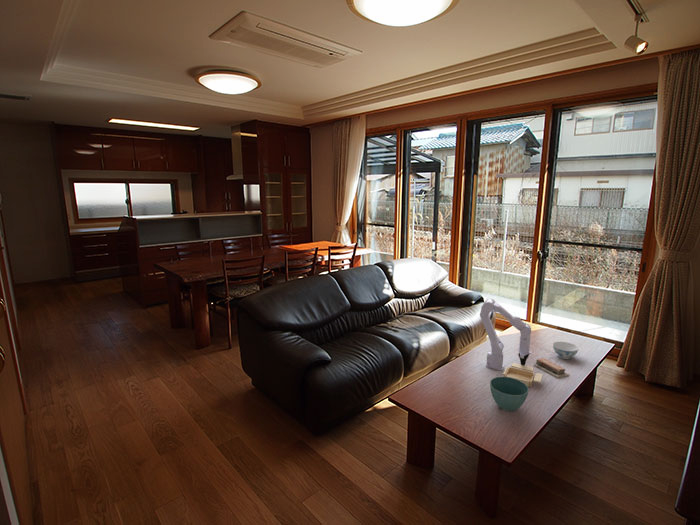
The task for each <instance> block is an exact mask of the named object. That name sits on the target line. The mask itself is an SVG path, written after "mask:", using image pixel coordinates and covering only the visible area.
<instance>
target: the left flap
mask: <svg viewBox="0 0 700 525" xmlns="http://www.w3.org/2000/svg"><path fill="white" fill-rule="evenodd" d="M510 367H512V368H516V369H520V370H524V371H529V372H533V373H534V367H532V366H528V365H525V366H524V365H521V363H520V364H519V363H515V362H512V363H511V366H510Z"/></svg>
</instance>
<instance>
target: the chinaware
mask: <svg viewBox="0 0 700 525" xmlns="http://www.w3.org/2000/svg"><path fill="white" fill-rule="evenodd" d="M552 348H553V351H554V352H555V353H556V354H557V355H558V357H559V358H560V359H564V360H570V359H571V358H573V357H574V356H576V355H577V353H578V352H579V346H577V345H576V344H573V343H570V342H567V341H554V342H553V343H552Z"/></svg>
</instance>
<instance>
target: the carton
mask: <svg viewBox="0 0 700 525" xmlns="http://www.w3.org/2000/svg"><path fill="white" fill-rule="evenodd" d="M535 375H536V373H535V372H534V371H533V372H530V371H526V370H522V369H518V368H514V367H511V366H506V367H505V369H504V372H503V373H502V377H510V378H514V379H517V380H519V381H521V382H523V383H524V384H526V385H527V387H528V388H531V387H532V386H533V383H534V381H533V380H534V377H535Z"/></svg>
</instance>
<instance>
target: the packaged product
mask: <svg viewBox="0 0 700 525" xmlns="http://www.w3.org/2000/svg"><path fill="white" fill-rule="evenodd" d="M533 366H534V367H536V368H538V369H539V370H541V371H543V372H544V373H546V374H548V375H550V376H552V377H554V378H556V379H560V378H564V377H569V376H570V373H568V372H566V369H565V368H563V367H562V366H560V365H558V364H556V363H554V362H553V361H551V360H548V359H546V358H544V357H543V358H537V359H536V362H535V363H533Z"/></svg>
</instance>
